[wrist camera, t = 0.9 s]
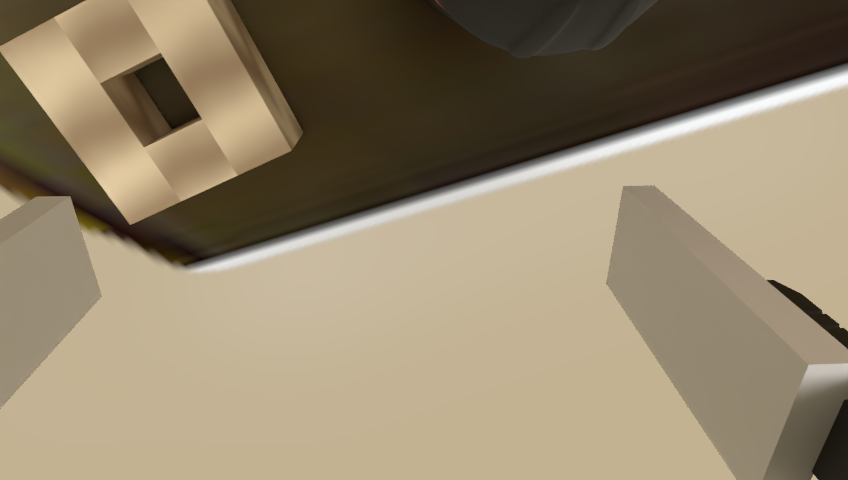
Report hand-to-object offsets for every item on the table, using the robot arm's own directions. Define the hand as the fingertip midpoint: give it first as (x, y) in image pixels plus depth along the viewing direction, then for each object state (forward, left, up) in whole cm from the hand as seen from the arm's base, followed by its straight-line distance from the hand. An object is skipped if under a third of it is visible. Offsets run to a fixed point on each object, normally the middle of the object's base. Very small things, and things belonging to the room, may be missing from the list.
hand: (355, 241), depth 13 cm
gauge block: (-5, -13, -26) cm, 29 cm away
